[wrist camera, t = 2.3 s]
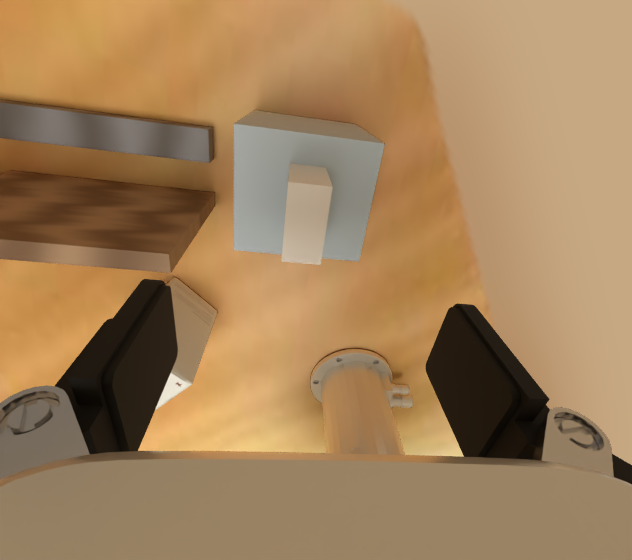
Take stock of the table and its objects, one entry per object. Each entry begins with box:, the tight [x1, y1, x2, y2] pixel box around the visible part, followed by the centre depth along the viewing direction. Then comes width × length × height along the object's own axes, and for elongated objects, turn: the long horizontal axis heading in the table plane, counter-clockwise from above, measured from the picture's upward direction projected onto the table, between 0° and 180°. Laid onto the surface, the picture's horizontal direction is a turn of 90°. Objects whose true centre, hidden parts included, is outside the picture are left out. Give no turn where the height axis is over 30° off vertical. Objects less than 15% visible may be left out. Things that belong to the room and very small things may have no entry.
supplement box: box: [155, 277, 218, 410], centre depth 38 cm, size 7×7×13 cm
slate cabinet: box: [234, 110, 385, 265], centre depth 27 cm, size 10×9×18 cm
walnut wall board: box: [0, 99, 215, 273], centre depth 27 cm, size 20×8×15 cm, turn 82°
